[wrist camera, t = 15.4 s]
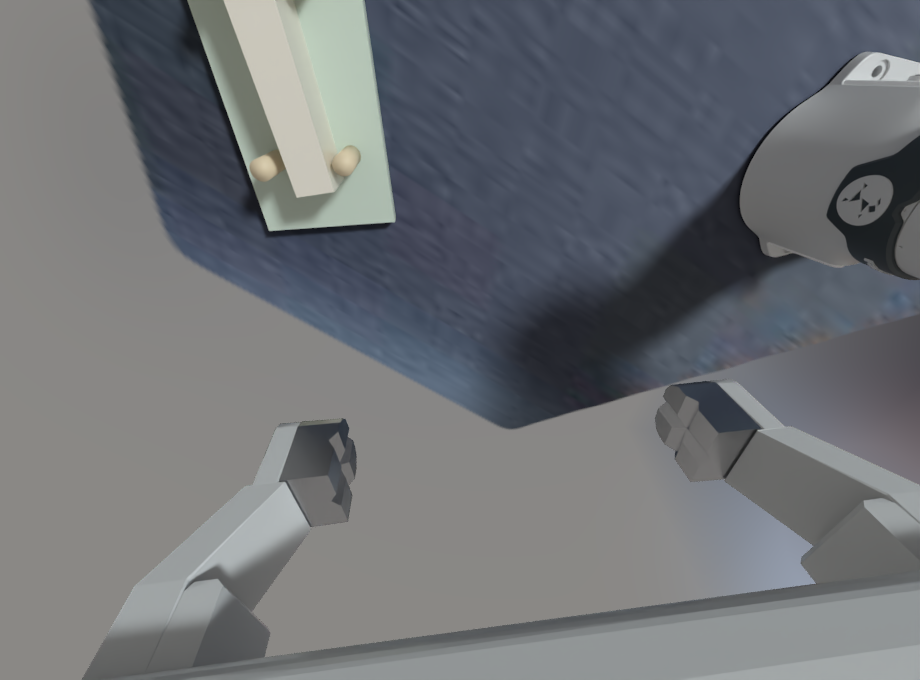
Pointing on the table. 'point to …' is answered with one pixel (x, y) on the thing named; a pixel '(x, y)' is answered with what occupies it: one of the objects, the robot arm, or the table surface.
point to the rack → (346, 104)
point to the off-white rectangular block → (287, 91)
